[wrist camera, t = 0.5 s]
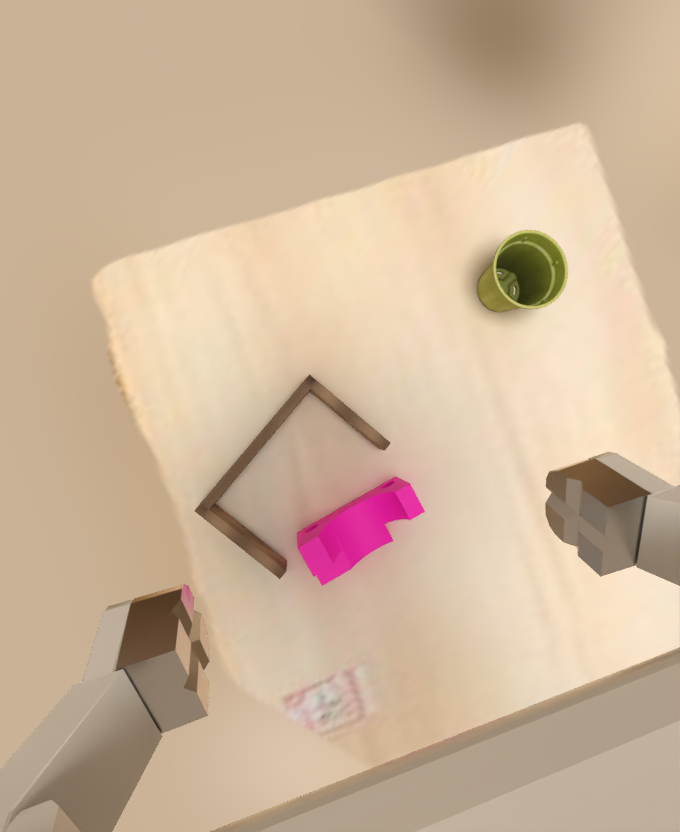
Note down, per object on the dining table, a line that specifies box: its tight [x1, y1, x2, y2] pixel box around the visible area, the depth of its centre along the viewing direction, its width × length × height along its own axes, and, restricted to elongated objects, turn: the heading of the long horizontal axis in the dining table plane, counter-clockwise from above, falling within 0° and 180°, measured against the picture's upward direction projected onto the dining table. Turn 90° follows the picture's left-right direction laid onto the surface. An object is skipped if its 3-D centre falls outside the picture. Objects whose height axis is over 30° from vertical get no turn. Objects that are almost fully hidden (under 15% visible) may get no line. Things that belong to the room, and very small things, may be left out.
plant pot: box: [478, 230, 568, 312], centre depth 58 cm, size 9×9×9 cm
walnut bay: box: [195, 375, 390, 579], centre depth 57 cm, size 13×21×4 cm, turn 140°
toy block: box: [297, 477, 425, 586], centre depth 56 cm, size 15×6×8 cm, turn 119°
